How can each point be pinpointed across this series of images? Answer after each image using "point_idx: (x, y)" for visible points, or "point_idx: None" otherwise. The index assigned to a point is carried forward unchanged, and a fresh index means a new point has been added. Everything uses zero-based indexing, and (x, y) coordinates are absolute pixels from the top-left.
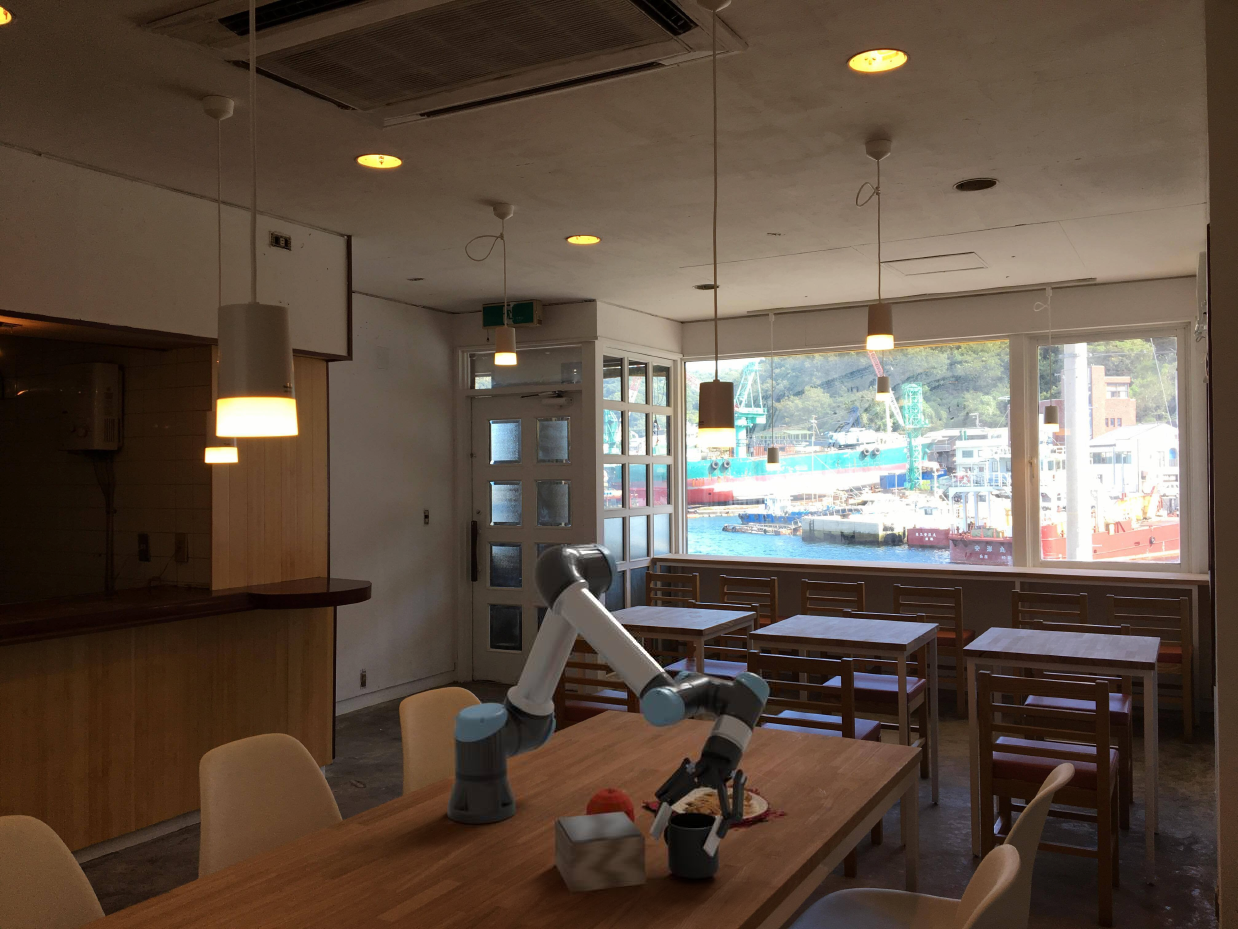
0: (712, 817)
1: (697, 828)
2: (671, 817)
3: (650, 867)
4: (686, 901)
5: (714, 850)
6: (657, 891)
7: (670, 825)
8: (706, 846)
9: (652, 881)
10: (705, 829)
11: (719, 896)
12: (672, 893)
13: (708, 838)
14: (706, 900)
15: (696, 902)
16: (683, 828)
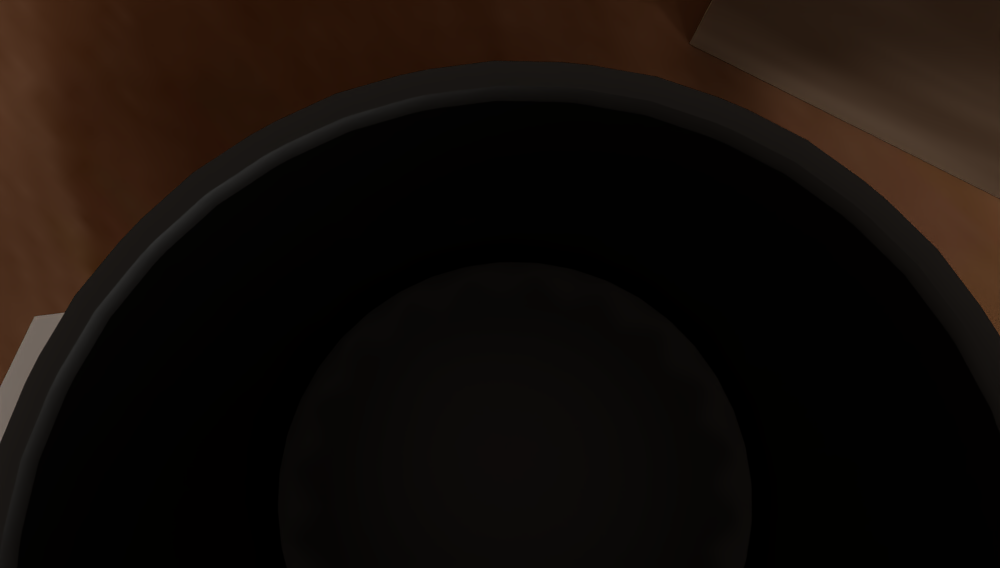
0: None
1: (114, 287)
2: (992, 396)
3: None
4: (177, 35)
5: None
6: (500, 9)
7: (690, 92)
8: (40, 334)
9: None
10: (13, 421)
11: (33, 313)
12: (378, 69)
13: None
14: (64, 169)
15: (101, 79)
16: (335, 95)
